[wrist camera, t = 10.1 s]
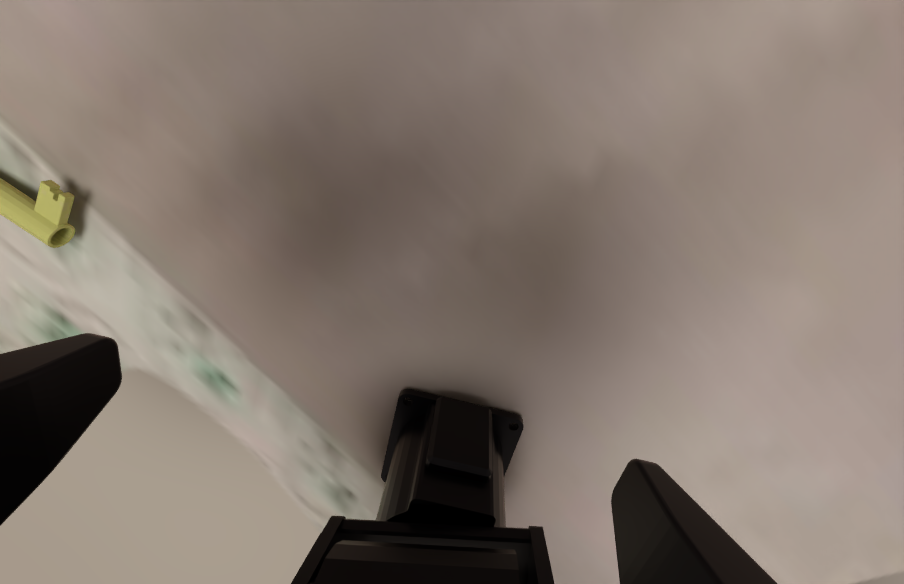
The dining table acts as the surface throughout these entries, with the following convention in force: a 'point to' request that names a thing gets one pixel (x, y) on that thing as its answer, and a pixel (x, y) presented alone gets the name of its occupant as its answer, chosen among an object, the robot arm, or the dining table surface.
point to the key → (39, 212)
